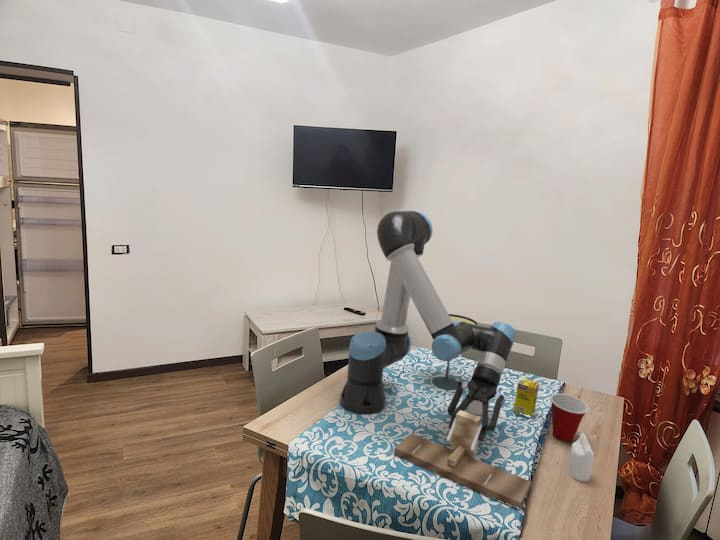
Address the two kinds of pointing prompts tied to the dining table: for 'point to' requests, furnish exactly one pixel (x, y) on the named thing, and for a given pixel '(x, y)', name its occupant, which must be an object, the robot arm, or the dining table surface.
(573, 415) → the plastic cup
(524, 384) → the supplement box
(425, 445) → the walnut board
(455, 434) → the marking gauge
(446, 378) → the cocktail glass
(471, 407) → the white cup
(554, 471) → the dining table surface
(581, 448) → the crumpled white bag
